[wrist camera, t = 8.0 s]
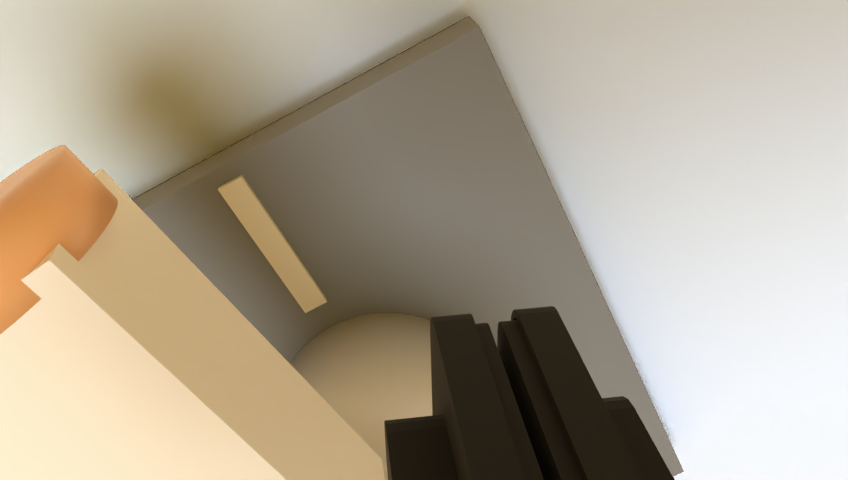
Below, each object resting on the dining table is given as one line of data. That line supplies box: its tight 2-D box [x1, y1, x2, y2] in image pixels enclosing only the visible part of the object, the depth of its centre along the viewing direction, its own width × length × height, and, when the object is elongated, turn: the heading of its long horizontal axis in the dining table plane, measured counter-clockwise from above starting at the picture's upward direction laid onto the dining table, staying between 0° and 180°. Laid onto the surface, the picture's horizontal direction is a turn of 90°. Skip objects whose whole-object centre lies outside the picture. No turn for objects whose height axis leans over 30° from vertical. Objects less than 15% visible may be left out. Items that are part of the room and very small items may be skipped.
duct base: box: [132, 16, 683, 476], centre depth 25 cm, size 17×20×9 cm
